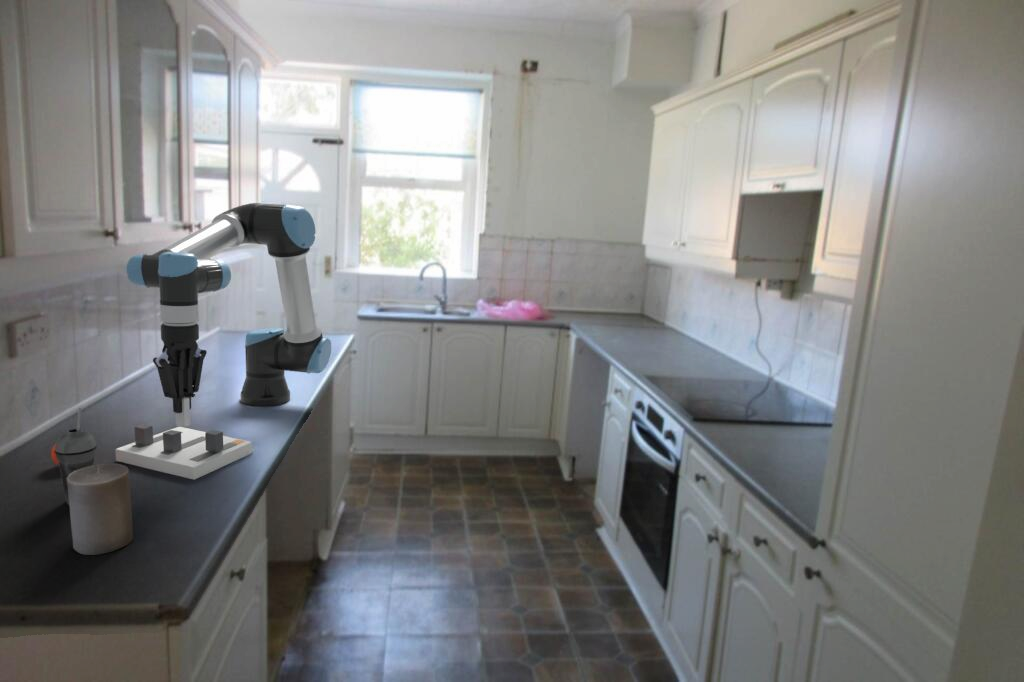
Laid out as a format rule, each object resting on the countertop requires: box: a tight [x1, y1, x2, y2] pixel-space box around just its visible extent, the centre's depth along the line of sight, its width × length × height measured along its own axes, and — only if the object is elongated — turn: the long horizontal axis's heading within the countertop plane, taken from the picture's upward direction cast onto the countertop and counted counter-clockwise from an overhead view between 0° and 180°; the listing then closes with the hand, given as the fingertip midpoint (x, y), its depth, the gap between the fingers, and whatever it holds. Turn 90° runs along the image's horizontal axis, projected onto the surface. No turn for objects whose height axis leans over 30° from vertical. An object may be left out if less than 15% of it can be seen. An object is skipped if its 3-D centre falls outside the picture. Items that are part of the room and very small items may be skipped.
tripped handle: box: [205, 429, 224, 453], centre depth 159 cm, size 2×3×4 cm
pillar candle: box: [66, 463, 135, 556], centre depth 120 cm, size 10×10×15 cm
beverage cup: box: [54, 407, 98, 506], centre depth 135 cm, size 7×7×20 cm
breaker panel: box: [115, 423, 253, 481], centre depth 162 cm, size 19×24×8 cm
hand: (182, 425), depth 149 cm, fingers closed
